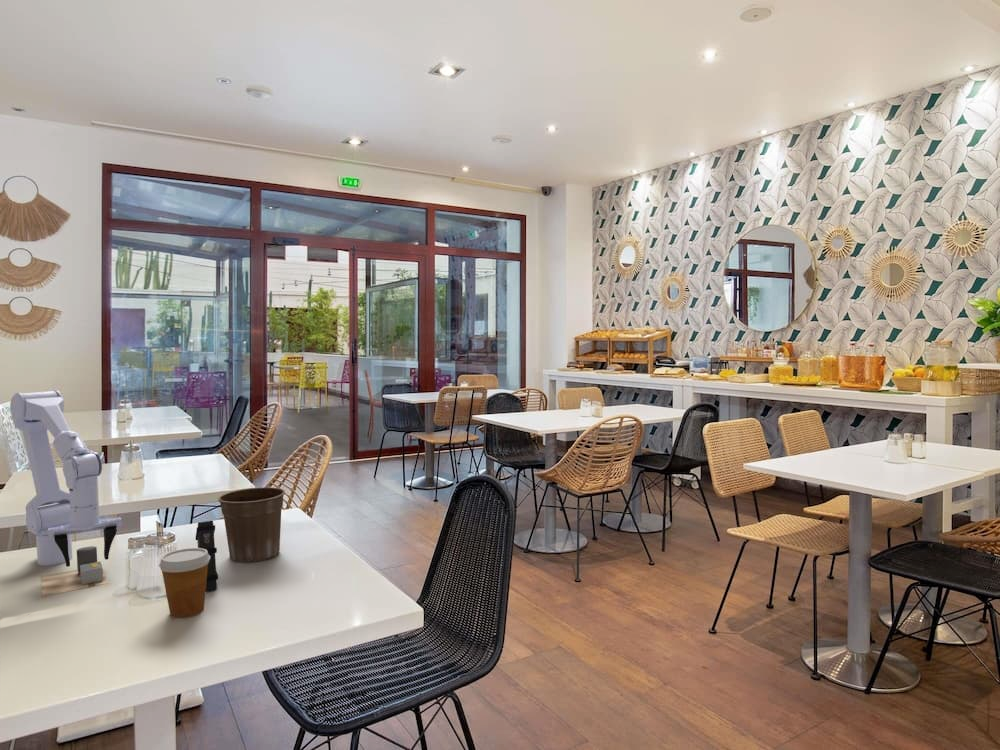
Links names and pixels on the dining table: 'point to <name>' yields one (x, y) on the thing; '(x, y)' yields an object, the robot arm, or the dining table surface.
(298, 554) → the dining table surface
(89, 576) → the block
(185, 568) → the disposable coffee cup
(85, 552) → the dark grey piece
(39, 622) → the dining table surface
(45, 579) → the plank
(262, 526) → the plant pot
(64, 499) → the robot arm
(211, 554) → the black stepped upright piece
